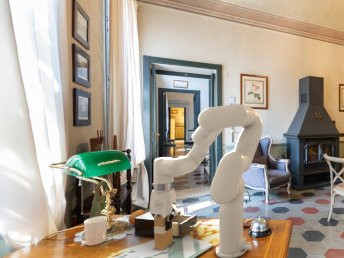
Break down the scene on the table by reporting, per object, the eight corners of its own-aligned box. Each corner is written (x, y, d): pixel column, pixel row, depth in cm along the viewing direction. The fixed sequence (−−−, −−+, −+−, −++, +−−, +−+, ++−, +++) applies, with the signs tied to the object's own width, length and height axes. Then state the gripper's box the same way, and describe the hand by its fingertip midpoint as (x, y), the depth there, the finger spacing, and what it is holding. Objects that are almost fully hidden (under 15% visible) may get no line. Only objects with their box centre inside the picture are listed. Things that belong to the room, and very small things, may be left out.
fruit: (153, 219, 125) (145, 208, 122) (140, 231, 120) (131, 220, 116) (145, 216, 130) (137, 205, 126) (132, 227, 124) (123, 217, 120)
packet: (173, 242, 103) (172, 213, 102) (162, 250, 97) (162, 218, 97) (164, 241, 103) (164, 212, 103) (154, 248, 97) (154, 217, 97)
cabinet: (180, 227, 119) (180, 210, 119) (161, 238, 106) (161, 220, 106) (155, 224, 122) (155, 208, 122) (134, 235, 109) (134, 218, 109)
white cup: (94, 247, 99) (94, 223, 99) (79, 245, 100) (79, 222, 100) (111, 238, 106) (111, 216, 106) (97, 236, 108) (97, 215, 108)
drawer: (205, 228, 115) (205, 215, 115) (190, 239, 104) (190, 225, 104) (173, 225, 119) (173, 212, 119) (155, 235, 108) (155, 221, 108)
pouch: (104, 224, 123) (104, 176, 122) (120, 227, 118) (120, 178, 118) (79, 232, 112) (79, 181, 112) (95, 237, 108) (95, 183, 108)
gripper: (139, 187, 98) (139, 230, 98) (174, 190, 94) (174, 235, 95) (153, 183, 105) (153, 223, 105) (186, 185, 102) (186, 227, 102)
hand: (163, 228), depth 100 cm, fingers closed on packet, 4 cm apart
